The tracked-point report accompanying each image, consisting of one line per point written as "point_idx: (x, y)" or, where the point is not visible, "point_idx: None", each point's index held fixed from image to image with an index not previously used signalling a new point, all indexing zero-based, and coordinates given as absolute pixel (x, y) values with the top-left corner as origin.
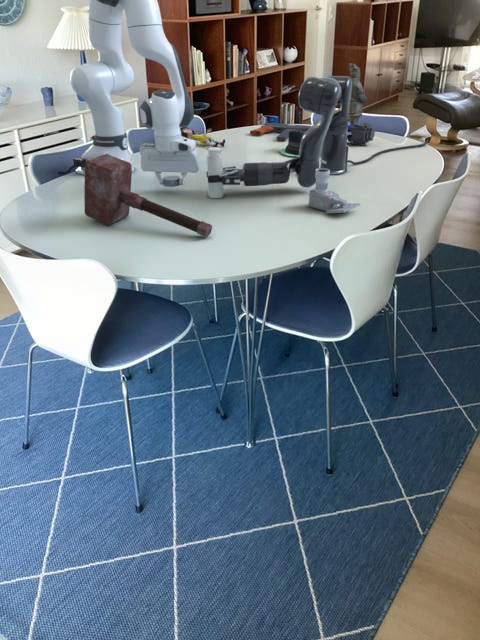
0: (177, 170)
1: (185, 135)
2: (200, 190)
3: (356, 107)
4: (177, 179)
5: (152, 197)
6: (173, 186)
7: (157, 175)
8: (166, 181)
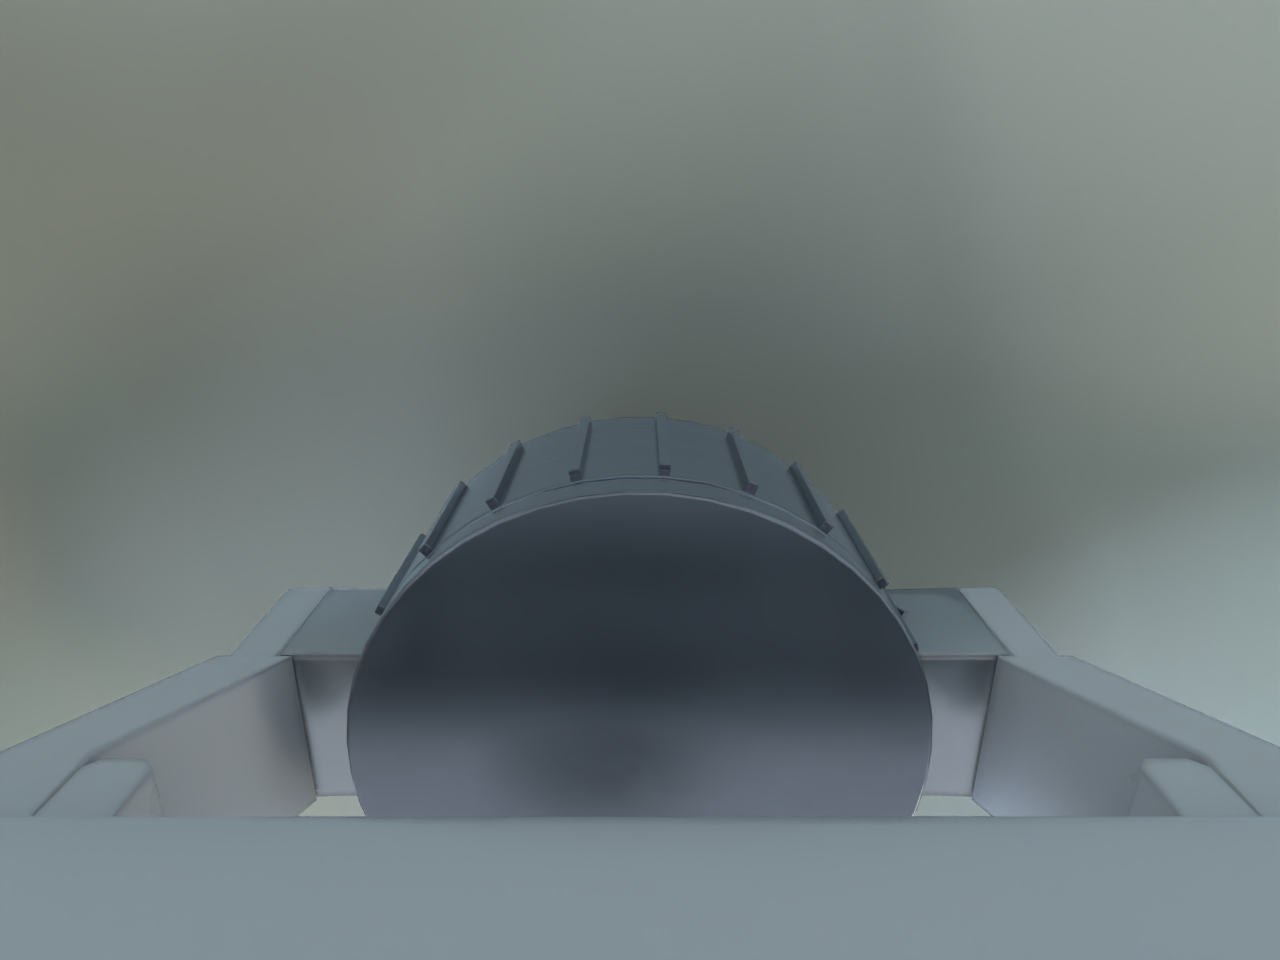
0: (114, 870)
1: None
2: (103, 703)
3: None
4: (373, 630)
5: (1048, 76)
6: (530, 442)
7: (1199, 744)
8: (752, 482)
